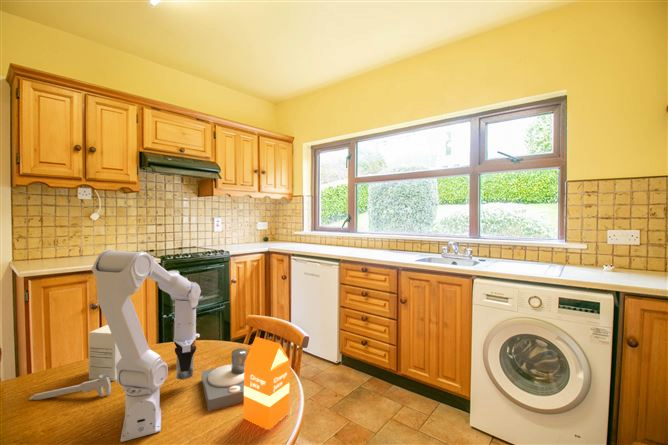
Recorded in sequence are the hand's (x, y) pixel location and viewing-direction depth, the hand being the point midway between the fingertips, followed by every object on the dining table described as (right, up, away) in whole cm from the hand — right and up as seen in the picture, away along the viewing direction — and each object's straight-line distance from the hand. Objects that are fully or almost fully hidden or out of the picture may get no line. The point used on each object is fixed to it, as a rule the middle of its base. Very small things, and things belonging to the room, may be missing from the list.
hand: (184, 366), depth 93 cm
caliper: (-29, -6, -6) cm, 30 cm away
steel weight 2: (+15, -3, +3) cm, 16 cm away
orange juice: (+27, -7, -12) cm, 31 cm away
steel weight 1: (0, -3, 0) cm, 3 cm away
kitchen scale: (+14, -7, 0) cm, 15 cm away
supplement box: (-27, -6, +7) cm, 28 cm away
